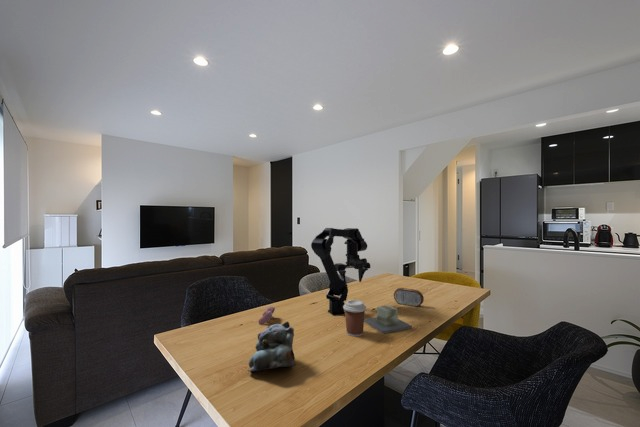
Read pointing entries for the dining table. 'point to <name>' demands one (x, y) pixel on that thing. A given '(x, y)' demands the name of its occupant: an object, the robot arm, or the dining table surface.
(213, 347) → the dining table surface
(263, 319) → the pink frog figurine
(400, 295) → the tin
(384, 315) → the sage block
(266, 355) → the lucky cat figurine
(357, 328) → the coffee cup
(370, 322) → the gray board
